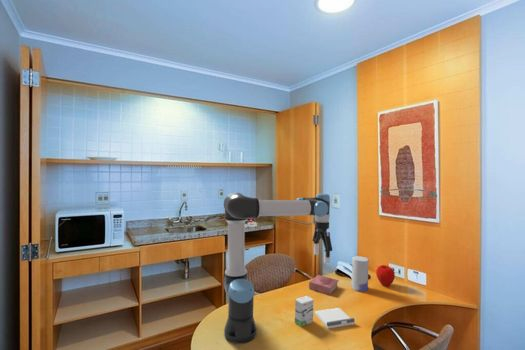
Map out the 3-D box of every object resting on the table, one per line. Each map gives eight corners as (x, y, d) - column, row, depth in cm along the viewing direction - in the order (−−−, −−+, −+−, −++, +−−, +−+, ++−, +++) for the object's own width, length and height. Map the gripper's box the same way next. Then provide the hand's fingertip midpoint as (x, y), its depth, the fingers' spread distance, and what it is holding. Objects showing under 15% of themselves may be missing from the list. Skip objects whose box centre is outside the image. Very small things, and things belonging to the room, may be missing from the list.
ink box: (300, 327, 130) (301, 303, 129) (294, 322, 134) (294, 299, 134) (313, 321, 134) (314, 299, 134) (306, 317, 139) (307, 295, 138)
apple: (372, 281, 184) (372, 262, 184) (387, 281, 186) (388, 262, 185) (381, 289, 173) (382, 269, 172) (398, 289, 174) (399, 269, 173)
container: (354, 283, 180) (355, 254, 180) (369, 287, 175) (370, 258, 174) (349, 289, 172) (350, 258, 172) (365, 293, 167) (366, 262, 166)
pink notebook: (308, 289, 171) (308, 282, 171) (318, 281, 183) (318, 274, 183) (330, 296, 163) (330, 288, 163) (338, 287, 175) (338, 280, 175)
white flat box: (328, 328, 129) (328, 323, 129) (314, 313, 142) (314, 308, 142) (354, 324, 133) (354, 319, 133) (338, 309, 147) (339, 304, 146)
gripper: (339, 225, 137) (338, 266, 138) (318, 217, 162) (318, 251, 162) (326, 226, 136) (325, 267, 136) (307, 217, 160) (306, 251, 161)
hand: (321, 258), depth 149 cm, fingers open, 13 cm apart
